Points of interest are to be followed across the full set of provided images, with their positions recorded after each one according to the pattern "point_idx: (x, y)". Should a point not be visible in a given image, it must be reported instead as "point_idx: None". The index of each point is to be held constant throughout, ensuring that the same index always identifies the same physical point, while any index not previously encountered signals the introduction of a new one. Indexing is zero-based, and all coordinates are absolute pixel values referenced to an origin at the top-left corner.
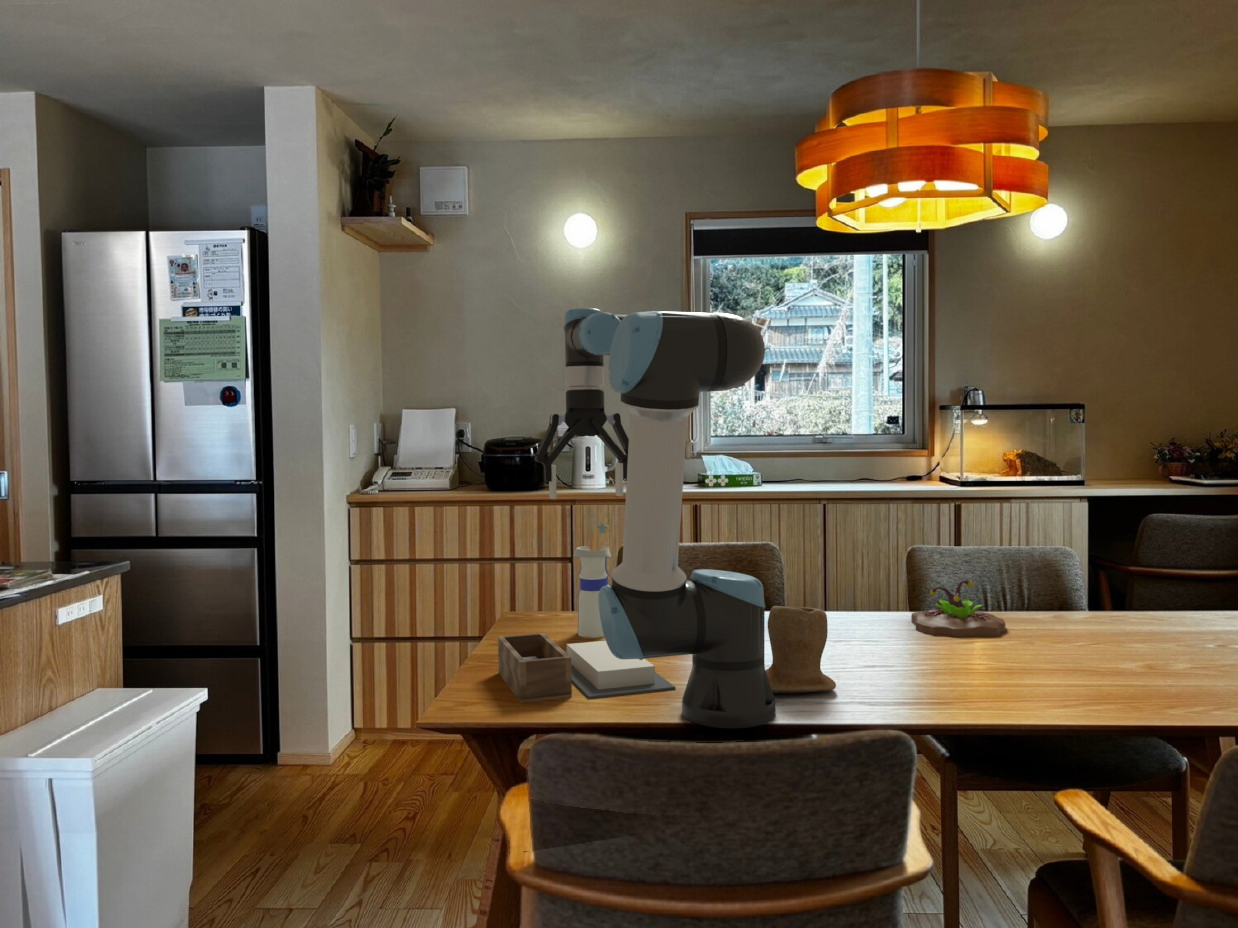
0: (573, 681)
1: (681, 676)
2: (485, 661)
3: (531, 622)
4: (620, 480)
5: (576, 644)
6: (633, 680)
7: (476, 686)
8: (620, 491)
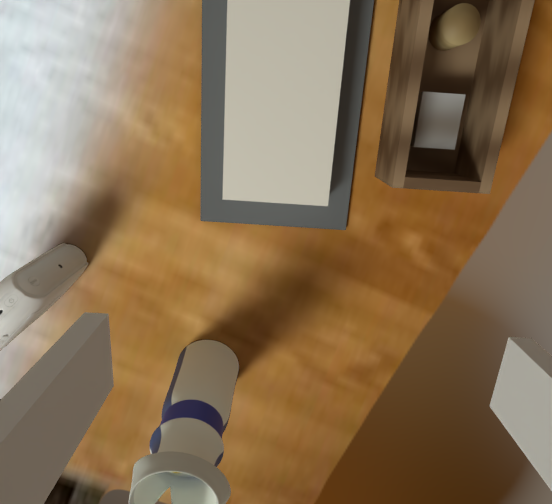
0: (367, 51)
1: (159, 8)
2: (447, 265)
3: (283, 473)
4: (51, 372)
5: (311, 195)
6: None
7: (525, 112)
8: (90, 328)
